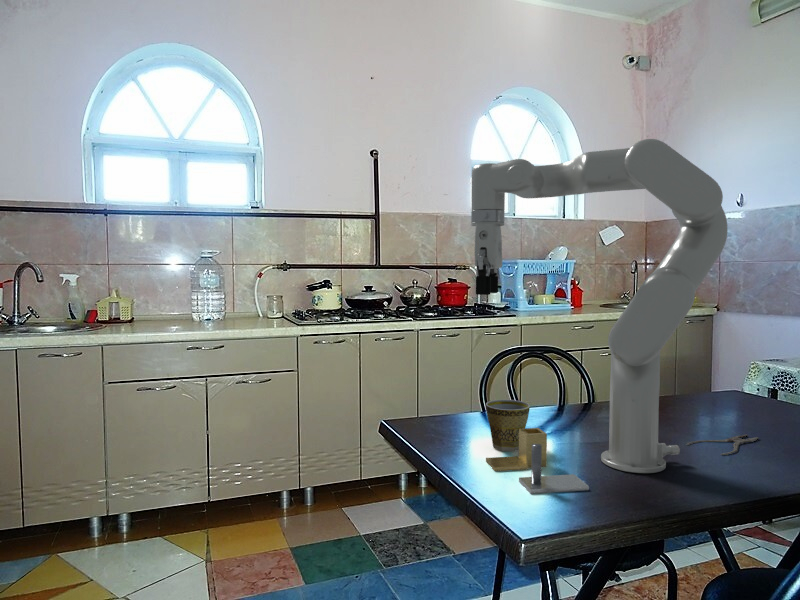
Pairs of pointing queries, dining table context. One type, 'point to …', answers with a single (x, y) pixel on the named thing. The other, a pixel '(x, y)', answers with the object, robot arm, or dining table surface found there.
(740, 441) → the pliers
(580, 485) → the steel leaf with pin
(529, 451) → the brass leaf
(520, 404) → the ceramic cup
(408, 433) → the dining table surface
